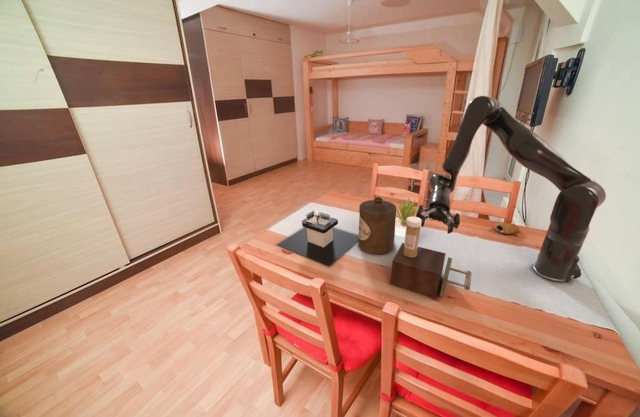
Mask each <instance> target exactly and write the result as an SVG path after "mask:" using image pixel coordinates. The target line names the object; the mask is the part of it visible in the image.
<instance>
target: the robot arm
mask: <svg viewBox="0 0 640 417" xmlns="http://www.w3.org/2000/svg"><path fill="white" fill-rule="evenodd" d="M482 125H483V126H485V127H486V128H487V129H489V130H490V131H492V132H493V133H494V134H495V136H497V138H498V139H499V141H500V142H501V144H502V146H503V147H504V149H505V151H506V152H507V153H508V154H509V155H510V156H511V158H513V159H514V160H515V161H517V163H518V164H520V165H521V166H522V167H523V168H525V169H527V170H529V171H531V172H533V173H535V174H537V175H539V176H541V177H542V178H545V179H546V180H548V181H549V182H550V183H552V184H553V185H554V186H555V187H556V188H557V189H558V190H559V193H558V195H557V196H556V199H555V202H554V205H553V208H552V211H551V213H550V217H549V221H550V222H549V225H548V228H547V230H546V234H545V235H544V239H543V240H542V241H543V242H542V244H541V247H540V250H539V252H538V254H537V257H536V260H535V263H534V265H533V268H532V270H533V271H534V272H535V274H537V275H538V276H539V277H541V278H544V279H546V280H549V281H552V282H557V283H564V282H565V283H570V282H571V280H572V278H573V279H574V280H576V279H578V278H580V277H581V276H582V270H581V268H580V265H579V261H580V257H579V255H580V252H581V250H582V247H583V245H584V243H585V241H586V238H587V236H588V234H589V232H590V224H591V223H592V219H593V218H594V215H595V212H596V210H597V209H598V208H599V207H600V206H602V204H603V203H604V202H605V201H606V199H607V194H606V191H605V189H604V187H603V186H602V185H601V184H599V183H598V182H597V181H596V180H594V179H592V178H590V176H588V175H586V174H585V173H584V172H582V171H580V170H579V169H577V168H576V167H575V166H573V165H572V164H570V162H568V161H567V160H566V158H565V157H563V156H562V155H561V154H560V153H559V152H557V150H555V149H554V148H553V147H552V146H551V145H550V144H548V143H547V142H546V141H545V140H544V139H543V138H542V137H540V136H539V135H538V134H537V133H536V132H534V131H532V129H530V128H529V127H527V126H526V125H525V124H523V123H521V122H520V121H519V120H517V119H516V118H515V117H513V116H512V115H511V114H510V113H509V111H507V109H506V108H505V107H504V106H503V105H502V104H501V103H500V101H498V99H496V98H495V97H491V96H488V95H478V96H476V97H474V98H472V100H470V102H469V103H468V105H467V107H466V109H465V111H464V114H463V117H462V121H461V123H460V125H459V126H460V127H459V129H458V131H457V135H456V137H455V139H454V141H453V143H452V145H451V148H450V150H449V152H448V154H447V155H446V158H445V160H444V161H443V163H442V164H441V169H442V170H443V171H445V172H446V173H448V174H449V175H450V177H449V176H446V175H444V174H440V173H434V174H432V175H431V176H430V177H429V180H428V189H429V191H430V197H429V200H428V204H427V207H424V206H423V205H422V204H420V205H419V206H418V209H417V211H416V215H415V217H418V218H420V219H421V220H422V223H421V227H420V228H424V226H425V223H426V221H430V220H433V221H438V222H442V223H443V225H445V226H447V234H448V235H450V234H452V233H453V231H454V229H456V230H457V229H458V228H459V226H460V224H461V219H460V218H461V217H460V213H458V212H457V213H455V214H454V213H451V212H450V210H451V193H453V192H454V191H455V188H456V184H457V179H458V176H459V173H460V171H461V170H462V168H463V166H464V164H465V163H466V161H467V158H468V157H469V153H470V150H471V146H472V143H473V140H474V138H475V136H476V134H477V132H478V130H480V127H481V126H482Z"/></svg>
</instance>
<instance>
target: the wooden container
mask: <svg viewBox="0 0 640 417" xmlns="http://www.w3.org/2000/svg"><path fill="white" fill-rule="evenodd" d="M358 212H359V215H358V216H359V217H358V236H359V240H358V247H359V248H360V249H361V250H362V251H363V252H365V253H368V254H371V255H385V254H388V253H390V252H392V250H393V249H394V247H395V246H394V245H395V235H396V220H397V219H396V216H397V206H396V204H394V203H393V202H390V201H387V200H383V198H382V197H381V196H376V197H374V198H373V199H369V200H364V201H363V202H361V203H360V204H359V210H358Z"/></svg>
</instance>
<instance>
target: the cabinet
mask: <svg viewBox="0 0 640 417" xmlns="http://www.w3.org/2000/svg"><path fill="white" fill-rule="evenodd" d="M404 243H405V242H402V243H401V244H400V246H399V248H398V250H397V251H396V253H395V256H394V257H393V259H392V262H391V272H390V283H389V284H390V285H392V286H396V287H399V288H402V289H404V290H408V291H410V292H414V293H417V294H421V295H423V296H426V297H430V298H433V299H437V295H438V291H439V287H440V283H441V279H442V275H443V270H444V265H445V258H446V254H447V253H446V252H443V251H438V250H434V249H430V248H425V247H421V246H418V249H417V256H416V257H413V258H411V257H407V256H405V255H404V254H403V251H404ZM440 274H441V275H440Z"/></svg>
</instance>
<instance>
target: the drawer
mask: <svg viewBox="0 0 640 417" xmlns="http://www.w3.org/2000/svg"><path fill="white" fill-rule="evenodd" d="M452 262H453V258H452V257H449V256H448V258H447V261H446V266H445V269H444V274H443V278H442V284H441V288H440V294H439V297H441V298H445V294H446V290H447V285H448V284H451V285H454V286H458V287H461V288H464V290H466V291H470V290H471V283H472V271H471V270H466V271H465V270H461V269H457V268H453V267H451V266H452ZM450 271H451V272H456V273H459V274H463V275H465V276H464V284H463V283H460V282H456V281H453V280H449V277H450ZM440 275H441V274H440ZM441 276H442V275H441Z"/></svg>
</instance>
